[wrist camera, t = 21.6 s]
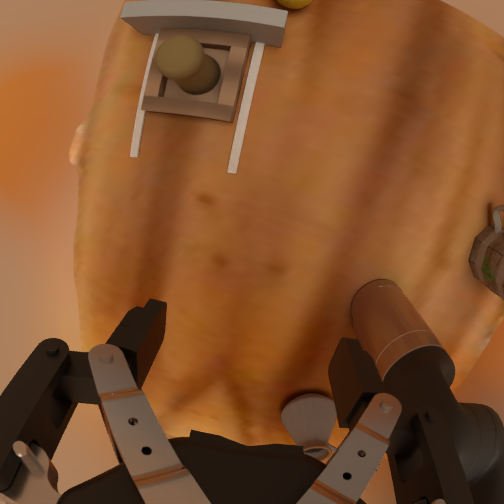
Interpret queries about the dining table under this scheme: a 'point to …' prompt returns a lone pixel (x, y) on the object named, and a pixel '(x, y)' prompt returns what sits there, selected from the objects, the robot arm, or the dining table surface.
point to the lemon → (294, 3)
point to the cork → (187, 64)
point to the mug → (490, 255)
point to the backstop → (217, 19)
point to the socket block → (215, 101)
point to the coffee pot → (311, 423)
